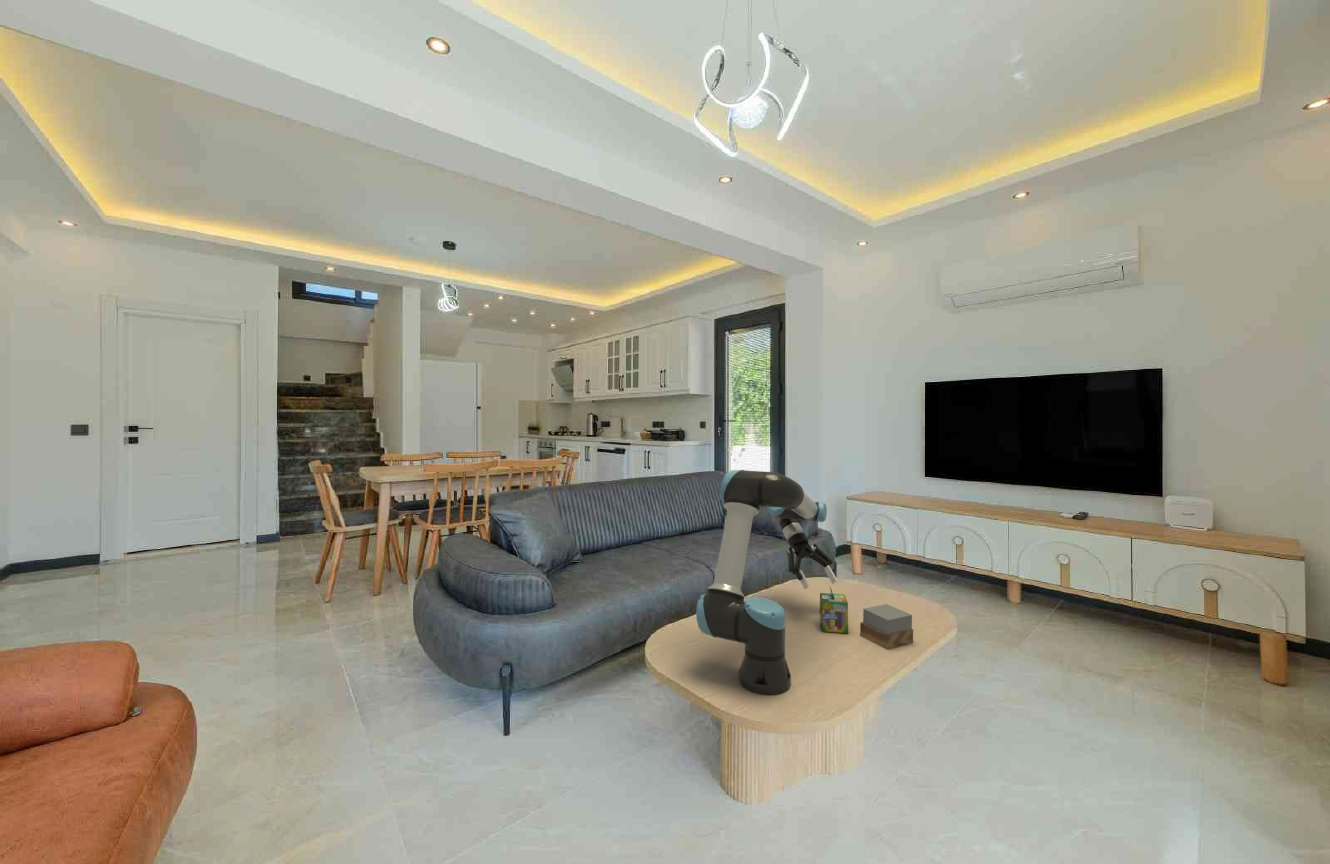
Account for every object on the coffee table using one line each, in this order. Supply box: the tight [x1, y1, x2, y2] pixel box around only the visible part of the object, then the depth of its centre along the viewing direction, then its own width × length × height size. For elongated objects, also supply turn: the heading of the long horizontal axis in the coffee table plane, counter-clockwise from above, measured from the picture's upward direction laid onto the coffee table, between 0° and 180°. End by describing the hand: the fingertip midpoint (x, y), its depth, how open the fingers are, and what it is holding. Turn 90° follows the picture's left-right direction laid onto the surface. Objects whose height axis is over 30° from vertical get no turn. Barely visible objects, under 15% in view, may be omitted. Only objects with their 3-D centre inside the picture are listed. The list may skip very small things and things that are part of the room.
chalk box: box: [819, 586, 849, 634], centre depth 191 cm, size 9×9×15 cm
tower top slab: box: [862, 603, 913, 635], centre depth 181 cm, size 11×11×5 cm
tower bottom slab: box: [859, 621, 914, 651], centre depth 182 cm, size 12×12×5 cm
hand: (821, 584), depth 198 cm, fingers open, 13 cm apart
